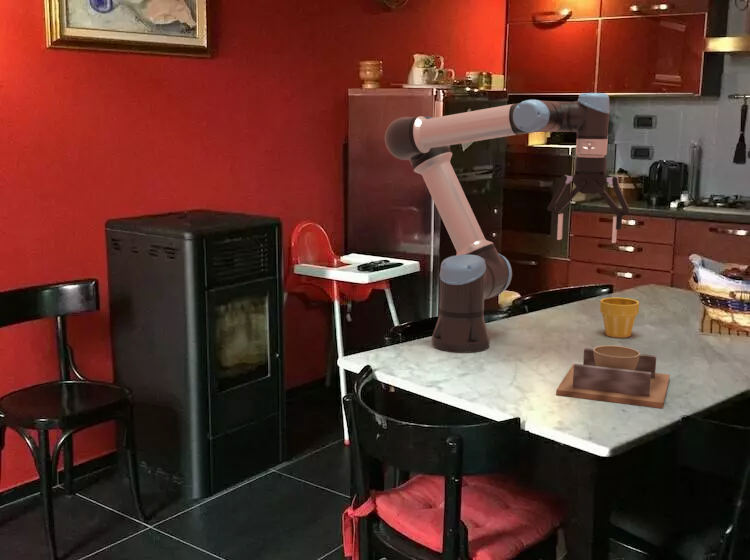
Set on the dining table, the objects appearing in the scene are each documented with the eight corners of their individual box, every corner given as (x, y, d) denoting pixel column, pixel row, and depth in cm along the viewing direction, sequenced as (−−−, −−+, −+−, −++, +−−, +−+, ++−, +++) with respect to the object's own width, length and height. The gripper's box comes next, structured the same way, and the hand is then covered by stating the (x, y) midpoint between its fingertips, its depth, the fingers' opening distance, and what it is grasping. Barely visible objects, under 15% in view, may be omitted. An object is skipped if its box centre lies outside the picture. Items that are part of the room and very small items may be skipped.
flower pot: (613, 391, 185) (615, 359, 184) (582, 378, 194) (583, 348, 192) (647, 385, 190) (649, 353, 188) (615, 373, 198) (617, 343, 197)
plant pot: (596, 337, 236) (598, 302, 235) (601, 329, 246) (603, 295, 244) (635, 341, 233) (637, 306, 231) (638, 332, 242) (640, 298, 240)
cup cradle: (556, 395, 186) (557, 367, 185) (572, 368, 206) (574, 343, 205) (662, 408, 178) (664, 379, 177) (669, 379, 198) (671, 353, 197)
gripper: (538, 155, 215) (534, 239, 219) (641, 158, 205) (636, 245, 209) (544, 154, 222) (540, 236, 225) (644, 157, 212) (638, 241, 216)
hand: (586, 240), depth 217 cm, fingers open, 13 cm apart
